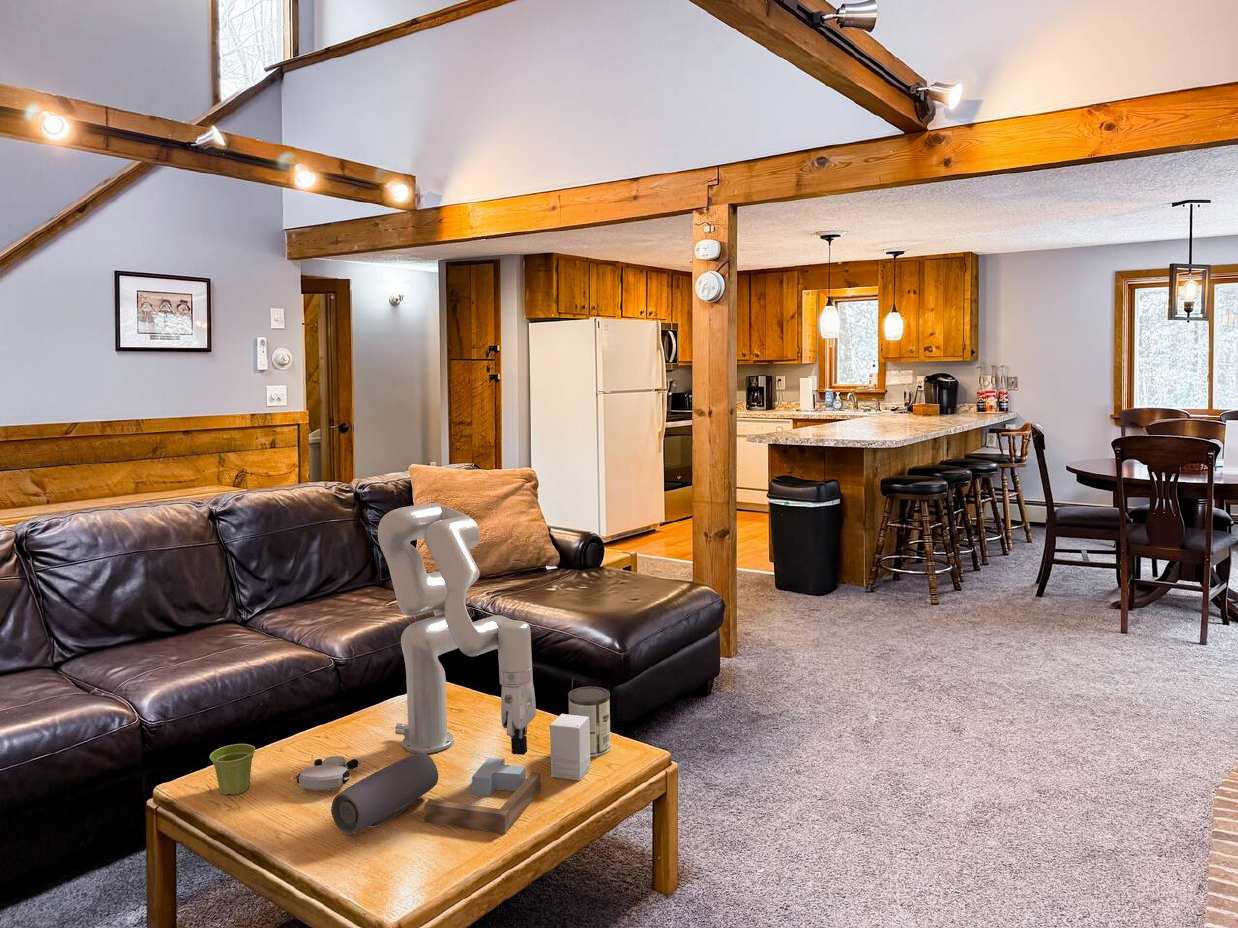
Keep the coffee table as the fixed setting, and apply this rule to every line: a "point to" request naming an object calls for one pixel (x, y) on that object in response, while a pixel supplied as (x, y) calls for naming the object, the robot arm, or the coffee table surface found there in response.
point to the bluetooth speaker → (384, 793)
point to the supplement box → (570, 747)
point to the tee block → (497, 777)
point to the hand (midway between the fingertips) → (519, 752)
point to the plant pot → (233, 767)
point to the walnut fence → (485, 810)
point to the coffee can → (593, 715)
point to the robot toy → (327, 773)
